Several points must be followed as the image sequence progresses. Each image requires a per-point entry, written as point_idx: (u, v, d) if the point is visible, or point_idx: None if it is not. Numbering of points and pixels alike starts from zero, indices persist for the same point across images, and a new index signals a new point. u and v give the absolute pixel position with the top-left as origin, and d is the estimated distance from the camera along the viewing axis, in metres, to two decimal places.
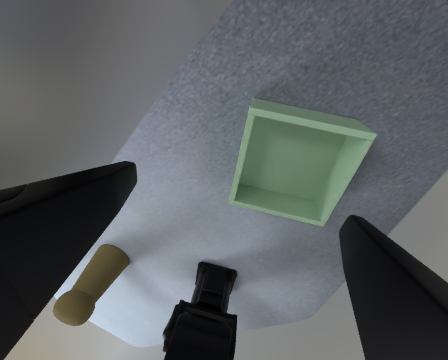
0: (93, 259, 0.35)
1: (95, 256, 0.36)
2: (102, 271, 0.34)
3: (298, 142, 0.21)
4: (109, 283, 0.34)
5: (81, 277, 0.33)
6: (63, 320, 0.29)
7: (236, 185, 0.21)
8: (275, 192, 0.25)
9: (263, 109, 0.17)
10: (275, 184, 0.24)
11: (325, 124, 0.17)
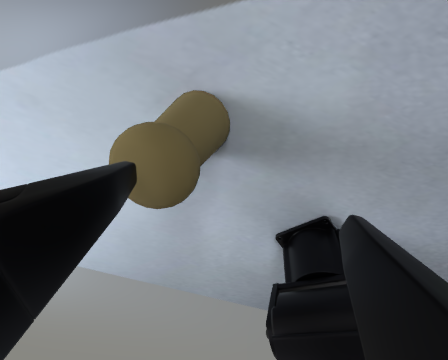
0: (197, 102, 0.17)
1: (198, 99, 0.17)
2: (213, 136, 0.16)
3: None
4: None
5: (183, 117, 0.14)
6: (138, 179, 0.11)
7: None
8: None
9: None
10: None
11: None
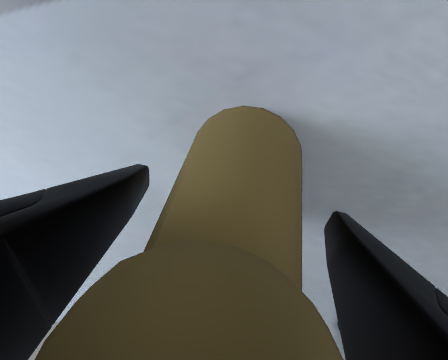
0: (264, 137, 0.08)
1: (262, 128, 0.08)
2: (301, 214, 0.07)
3: None
4: None
5: (258, 191, 0.05)
6: None
7: None
8: None
9: None
10: None
11: None
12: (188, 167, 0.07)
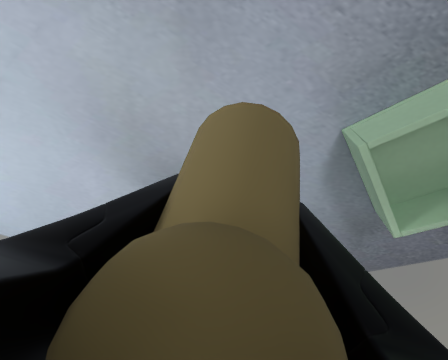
0: (264, 132, 0.08)
1: (262, 123, 0.09)
2: (299, 204, 0.08)
3: None
4: None
5: (258, 179, 0.06)
6: None
7: (399, 135, 0.15)
8: None
9: None
10: (379, 166, 0.19)
11: None
12: (191, 159, 0.07)
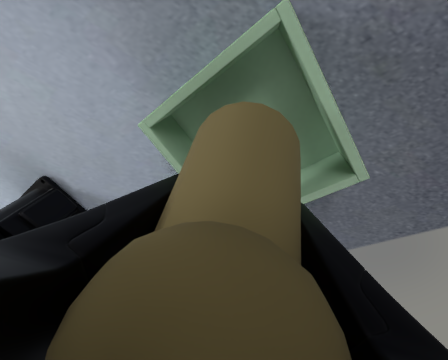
0: (265, 131, 0.08)
1: (262, 122, 0.09)
2: (300, 203, 0.08)
3: None
4: None
5: (259, 178, 0.06)
6: None
7: (169, 108, 0.12)
8: None
9: None
10: None
11: (341, 121, 0.11)
12: (192, 158, 0.07)
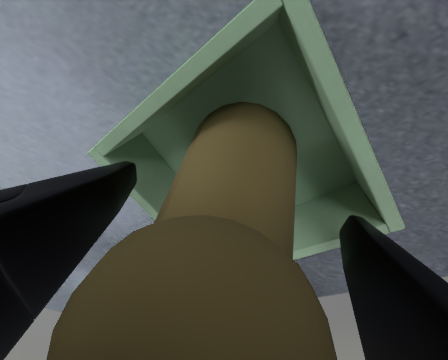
0: (260, 130, 0.08)
1: (259, 122, 0.09)
2: None
3: None
4: None
5: (253, 176, 0.06)
6: None
7: (126, 132, 0.09)
8: None
9: (311, 9, 0.06)
10: None
11: (370, 154, 0.08)
12: (190, 157, 0.08)
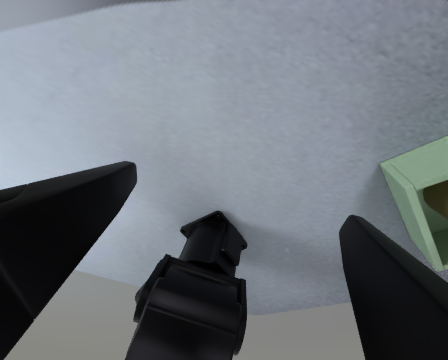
0: None
1: None
2: None
3: None
4: None
5: None
6: None
7: None
8: None
9: None
10: (418, 198, 0.19)
11: None
12: None
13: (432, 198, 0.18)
